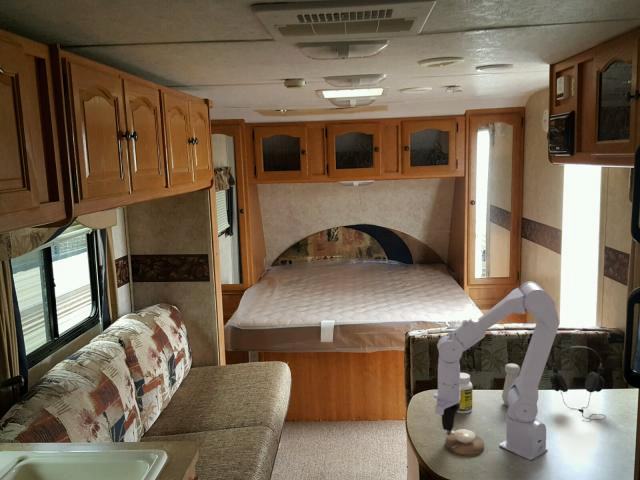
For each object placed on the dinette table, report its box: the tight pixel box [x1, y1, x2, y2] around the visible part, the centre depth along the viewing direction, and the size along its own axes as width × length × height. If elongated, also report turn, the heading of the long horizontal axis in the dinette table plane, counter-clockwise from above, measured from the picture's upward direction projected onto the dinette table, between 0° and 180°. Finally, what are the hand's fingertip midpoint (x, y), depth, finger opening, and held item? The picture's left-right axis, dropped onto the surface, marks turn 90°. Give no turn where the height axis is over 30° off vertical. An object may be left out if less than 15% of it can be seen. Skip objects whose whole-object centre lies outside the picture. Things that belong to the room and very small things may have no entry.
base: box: [445, 435, 485, 457], centre depth 146 cm, size 10×10×2 cm
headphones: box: [549, 345, 606, 422], centre depth 161 cm, size 15×11×20 cm
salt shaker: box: [501, 362, 521, 408], centre depth 168 cm, size 6×6×13 cm
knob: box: [446, 428, 477, 443], centre depth 146 cm, size 8×6×4 cm
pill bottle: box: [456, 372, 473, 415], centre depth 166 cm, size 6×6×11 cm
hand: (448, 429), depth 147 cm, fingers closed, pressing on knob
